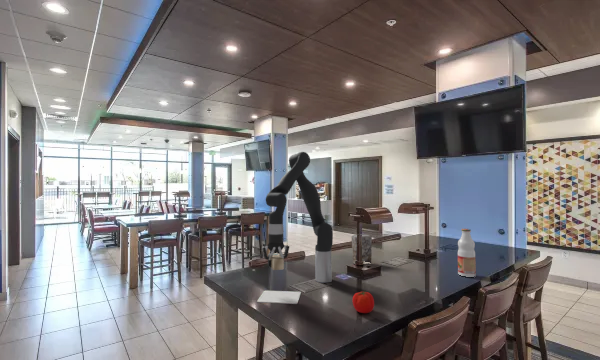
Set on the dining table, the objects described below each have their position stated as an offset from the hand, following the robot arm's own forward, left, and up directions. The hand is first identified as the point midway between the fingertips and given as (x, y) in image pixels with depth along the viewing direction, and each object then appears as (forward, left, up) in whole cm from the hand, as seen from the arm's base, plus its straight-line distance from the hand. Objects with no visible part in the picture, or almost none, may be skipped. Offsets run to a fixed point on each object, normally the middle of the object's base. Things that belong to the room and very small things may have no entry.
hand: (275, 266), depth 152 cm
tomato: (-42, +16, -14) cm, 47 cm away
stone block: (-48, -66, -14) cm, 83 cm away
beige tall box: (-3, +5, +3) cm, 7 cm away
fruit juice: (-108, -44, -14) cm, 117 cm away
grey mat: (-3, +3, -14) cm, 15 cm away
